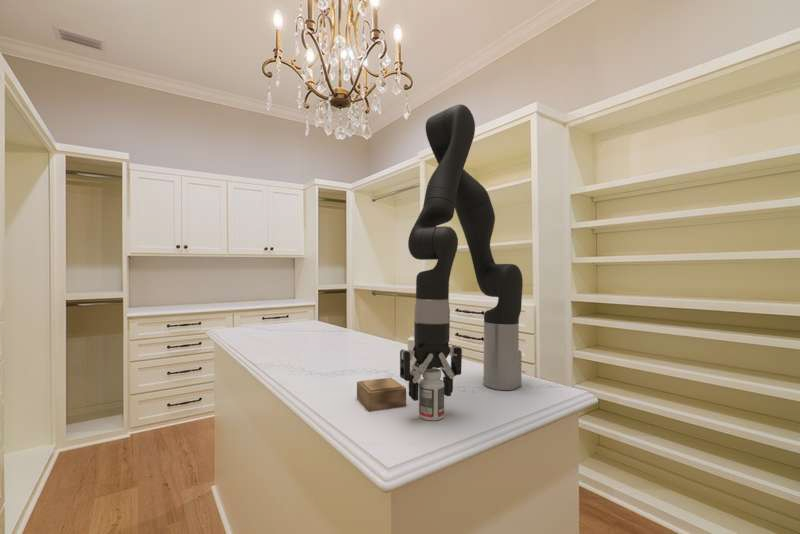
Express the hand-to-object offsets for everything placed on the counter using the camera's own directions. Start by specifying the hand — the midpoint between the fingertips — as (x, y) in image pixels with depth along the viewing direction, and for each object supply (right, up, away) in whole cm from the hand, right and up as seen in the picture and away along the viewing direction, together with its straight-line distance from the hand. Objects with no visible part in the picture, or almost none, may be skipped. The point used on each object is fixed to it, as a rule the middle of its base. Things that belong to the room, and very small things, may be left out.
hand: (430, 397), depth 78 cm
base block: (-11, -4, +8) cm, 14 cm away
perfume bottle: (-2, -5, +23) cm, 23 cm away
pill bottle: (0, -4, 0) cm, 4 cm away
